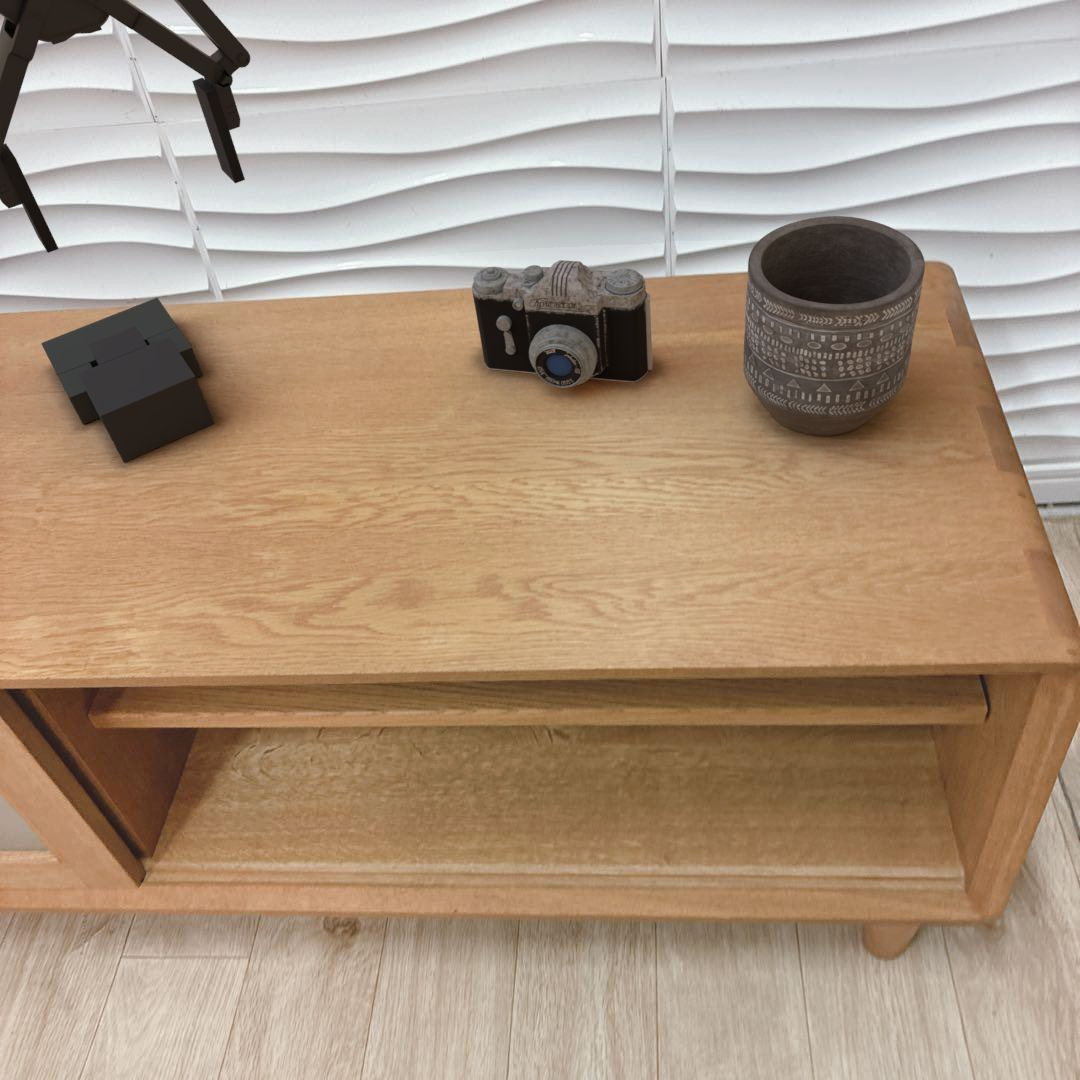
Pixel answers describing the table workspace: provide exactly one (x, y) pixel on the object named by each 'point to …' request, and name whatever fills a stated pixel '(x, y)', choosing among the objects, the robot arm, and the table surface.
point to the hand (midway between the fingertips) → (143, 208)
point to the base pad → (73, 347)
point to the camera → (565, 322)
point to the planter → (830, 321)
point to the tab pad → (144, 393)
